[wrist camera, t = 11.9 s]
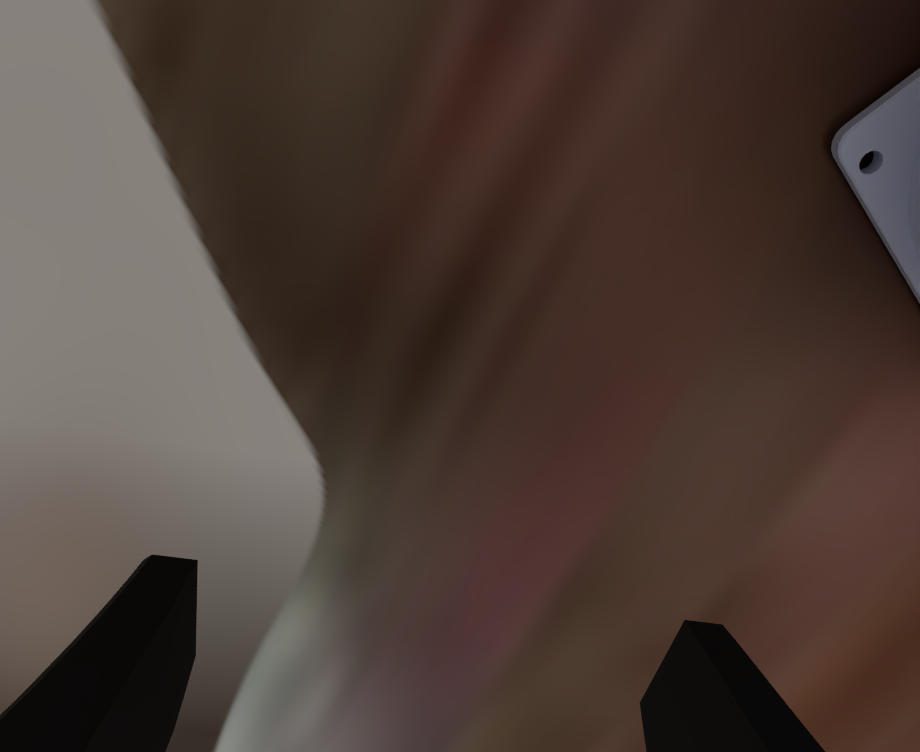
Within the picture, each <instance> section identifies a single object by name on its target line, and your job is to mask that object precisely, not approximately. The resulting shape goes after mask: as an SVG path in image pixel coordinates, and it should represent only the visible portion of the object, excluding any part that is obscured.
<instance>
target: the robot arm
mask: <svg viewBox="0 0 920 752" xmlns="http://www.w3.org/2000/svg"><path fill="white" fill-rule="evenodd" d="M831 151H832V154H833V157H834V159H835V161H836V163H837V164H838V166H839V168H840V169H841V171H842V173H843V174H844V176H845V178H846V180H847V181H848V183H849V185H850V186H851V188H852V190H853V191H854V193H855V195H856V197H857V198H858V200H859V202H860V203H861V205H862V207H863V208H864V210H865V212H866V213H867V215H868V217H869V219H870V220H871V222H872V224H873V225H874V227H875V229H876V230H877V232H878V234H879V236H880V237H881V239H882V241H883V242H884V244H885V246H886V247H887V249H888V251H889V252H890V254H891V256H892V258H893V259H894V261H895V263H896V264H897V266H898V268H899V269H900V271H901V273H902V275H903V276H904V278H905V280H906V281H907V283H908V285H909V286H910V288H911V290H912V292H913V293H914V295H915V297H916V298H917V300H918V302H919V303H920V68H919V69H918V70H916V71H915V72H914V73H912V74H911V75H910V76H908V77H907V78H906V79H904V80H903V81H902V82H900V83H899V84H898V85H896V86H895V87H894V88H892V89H891V90H890V91H888V92H887V93H886V94H884V95H883V96H882V97H881V98H879V99H878V100H877V101H875V102H874V103H873V104H871V105H870V106H869V107H867V108H866V109H865V110H863V111H862V112H861V113H859V114H858V115H857V116H855V117H854V118H853V119H851V120H850V121H849V122H847V123H846V124H845V125H843V126H842V127H841V128H840V129H839V130H838V131H837V133H836V135H835V137H834V139H833V140H832V147H831ZM870 151H873V154H874V157H873V160H872V162H871V163H870V164H869V165H868V166H867V167H866V168H864V169H862V170H860V168H859V163H860V161H861V158H862V157H863V156H864V155H865V154H866V153H868V152H870ZM197 563H198V561H197V560H192V559H184V558H176V557H168V556H160V555H151V556H149V557H147V558H146V559H144V560H143V561H142V562H141V564H140V565H139V566H138V567H137V569H136V570H135V571H134V572H133V574H132V575H131V576H130V577H129V578H128V580H127V581H126V582H125V583H124V584H123V586H122V587H121V588H120V589H119V590H118V591H117V593H116V594H115V595H114V596H113V597H112V598H111V600H110V601H109V602H108V603H107V604H106V605H105V606H104V608H103V609H102V610H101V611H100V612H99V613H98V614H97V616H96V617H95V618H94V619H93V620H92V621H91V622H90V623H89V624H88V625H87V626H86V628H85V629H84V630H83V631H82V632H81V633H80V634H79V635H78V636H77V637H76V639H75V640H74V641H73V642H72V643H71V644H70V645H69V646H68V647H67V648H66V649H65V650H64V651H63V652H62V653H61V654H60V655H59V656H58V657H57V658H56V659H55V660H54V661H53V663H51V665H50V666H49V667H48V668H47V669H46V670H45V671H44V672H43V673H42V674H41V675H40V676H39V677H38V678H37V679H36V680H35V681H34V682H33V683H32V684H31V685H30V686H29V687H28V688H27V689H26V690H25V692H23V693H22V694H21V695H20V696H19V697H18V698H17V699H16V700H15V701H14V702H13V703H12V704H11V705H10V706H9V707H8V708H7V709H6V710H5V711H4V712H3V713H2V714H1V715H0V752H165V751H166V749H167V746H168V743H169V741H170V738H171V736H172V733H173V731H174V727H175V724H176V721H177V718H178V714H179V711H180V708H181V704H182V701H183V698H184V694H185V691H186V687H187V683H188V680H189V677H190V673H191V670H192V666H193V663H194V659H195V656H196V611H197V610H196V609H197ZM640 707H641V715H642V722H643V729H644V737H645V744H646V750H647V752H825V751H824V750H823V748H822V747H821V746H820V745H819V744H818V742H817V741H816V740H815V739H814V738H813V736H812V735H811V734H810V733H809V731H808V730H807V729H806V728H805V726H804V725H803V724H802V723H801V722H800V720H799V719H798V718H797V717H796V715H795V714H794V713H793V712H792V710H791V709H790V708H789V707H788V705H787V704H786V703H785V702H784V700H783V699H782V698H781V697H780V695H779V694H778V693H777V692H776V690H775V689H774V688H773V687H772V685H771V684H770V683H769V682H768V680H767V679H766V678H765V677H764V675H763V674H762V673H761V671H760V670H759V669H758V668H757V666H756V665H755V664H754V663H753V661H752V660H751V659H750V658H749V656H748V655H747V654H746V653H745V651H744V650H743V649H742V648H741V647H740V645H739V644H738V643H737V642H736V640H735V639H734V638H733V637H732V636H731V634H730V633H729V632H728V631H727V630H726V628H725V627H724V626H723V625H721V624H713V623H705V622H697V621H688V620H685V621H684V622H683V624H682V626H681V628H680V630H679V632H678V634H677V635H676V637H675V639H674V641H673V643H672V645H671V646H670V648H669V650H668V652H667V654H666V656H665V657H664V659H663V661H662V663H661V665H660V667H659V669H658V670H657V672H656V674H655V676H654V678H653V680H652V681H651V683H650V685H649V687H648V689H647V691H646V692H645V694H644V696H643V698H642V700H641V702H640Z"/></svg>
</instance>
